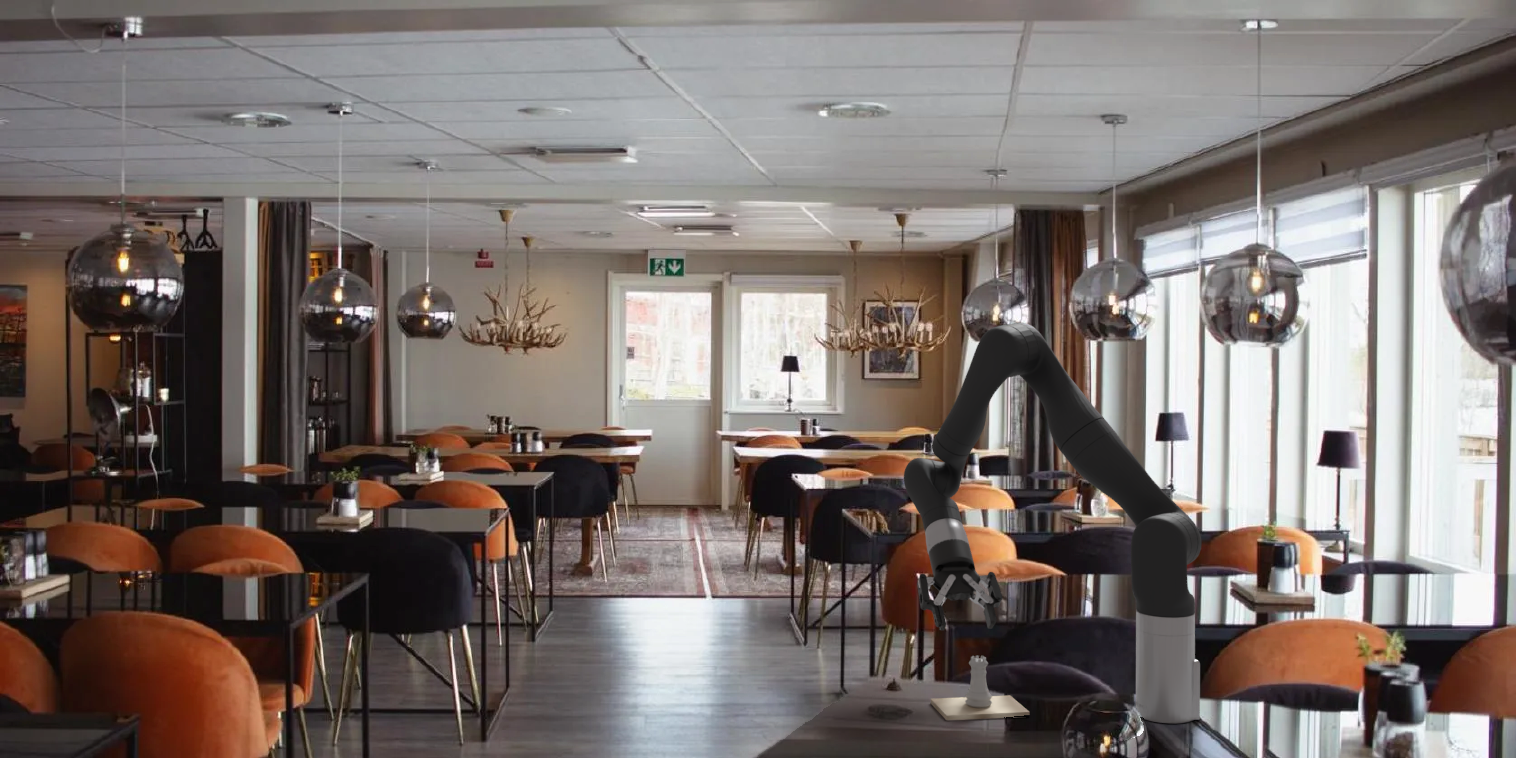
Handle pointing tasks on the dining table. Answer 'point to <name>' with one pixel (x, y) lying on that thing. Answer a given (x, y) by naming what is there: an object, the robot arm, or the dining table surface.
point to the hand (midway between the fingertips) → (967, 626)
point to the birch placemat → (962, 711)
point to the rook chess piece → (978, 684)
